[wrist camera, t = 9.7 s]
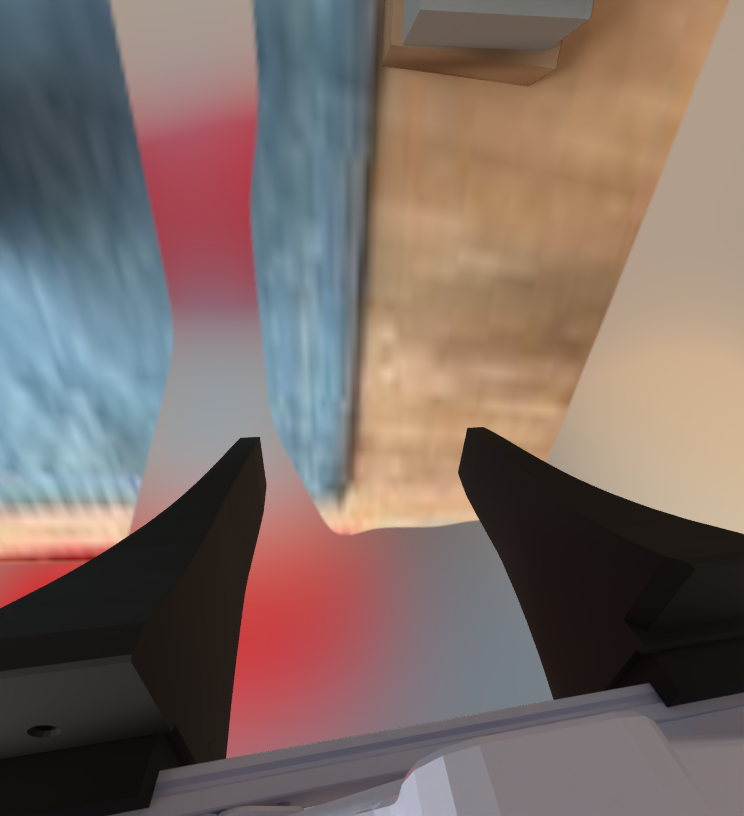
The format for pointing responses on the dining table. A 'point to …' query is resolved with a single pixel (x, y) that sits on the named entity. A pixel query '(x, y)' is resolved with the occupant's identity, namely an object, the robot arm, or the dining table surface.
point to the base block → (463, 56)
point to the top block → (492, 22)
